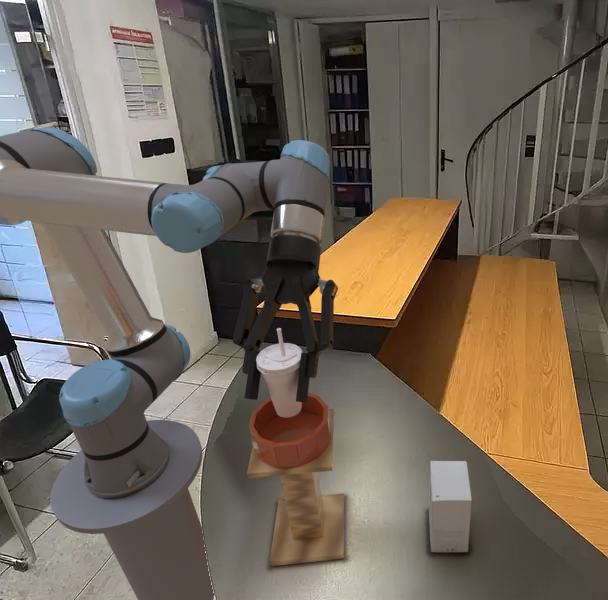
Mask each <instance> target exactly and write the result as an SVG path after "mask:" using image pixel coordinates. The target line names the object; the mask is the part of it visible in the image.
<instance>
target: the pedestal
mask: <svg viewBox="0 0 608 600" xmlns="http://www.w3.org/2000/svg"><path fill="white" fill-rule="evenodd" d="M328 409H329V416H330V424H331V426H330V431H331V437H330V441H329V444H328V446H327V448H326V449H325V450H324V452H323V453H322V454H321V455H320V456H318V457H317V458H316V459H314V460H313V461H311V462H309V463H307V464H304V465H302V466H298V467H293V468H277V467H273V466H270V465H268V464H266V463H264V462H263V461H262V460H261V459H260V458H259V457H258V456H257V453H256V450H255V448H254V447H253V446H252V448H251V453H250V456H249V461H248V465H247V470H246V476H247V479H257V478H267V477H276V476H279V478H280V483H281V488H282V493H283V498H281V499H278V501H277V507H276V514H275V522H274V528H273V535H272V542H271V548H270V555H269V556H270V557H269V565H270V567H276V566H277V567H278V566H287V565H294V564H296V565H297V564H304V563H313V562H314V563H315V562H323V561H332V560H343V559H345V493H334V494H322V490H321V489H322V488H321V484H320V483H321V482H320V475H319V473H321V472H332V471H333V460H334V433H335V431H334V429H335V428H334V427H335V409H334V408H328Z"/></svg>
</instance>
